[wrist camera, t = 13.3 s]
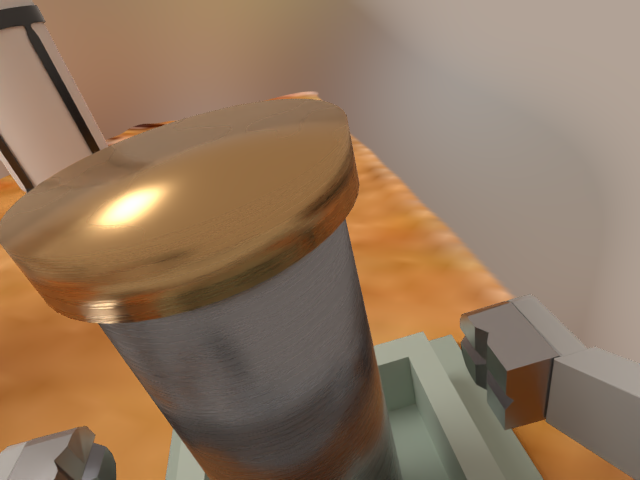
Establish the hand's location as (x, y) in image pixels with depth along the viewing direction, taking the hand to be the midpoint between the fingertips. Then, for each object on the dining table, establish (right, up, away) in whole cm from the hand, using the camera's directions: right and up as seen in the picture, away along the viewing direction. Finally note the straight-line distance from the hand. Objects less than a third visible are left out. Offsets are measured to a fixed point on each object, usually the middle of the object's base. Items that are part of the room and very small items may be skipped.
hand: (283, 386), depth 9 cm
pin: (+2, -7, +5) cm, 9 cm away
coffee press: (-34, +11, +49) cm, 60 cm away
